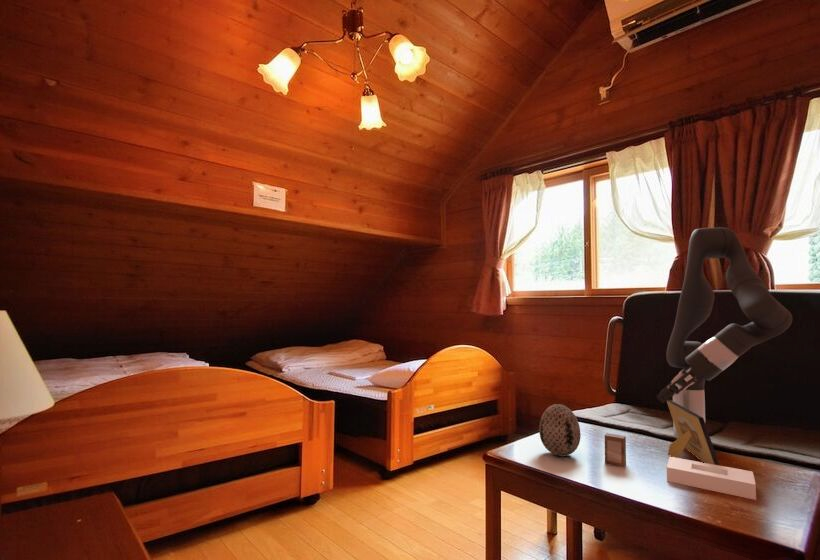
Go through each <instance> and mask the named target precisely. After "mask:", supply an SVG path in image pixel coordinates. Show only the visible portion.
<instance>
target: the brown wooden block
mask: <svg viewBox="0 0 820 560" xmlns="http://www.w3.org/2000/svg"><path fill="white" fill-rule="evenodd" d="M626 438H627V437H626V435H622V434H621V435H620V434H615V433H609V432H606V433H605V434H604V464H605V465H608V466H612V467H618V468H623V469H625V468H626V466H627V449H626V448H627V444H626V442H627V441H626V440H627V439H626Z"/></svg>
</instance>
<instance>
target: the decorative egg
mask: <svg viewBox="0 0 820 560" xmlns="http://www.w3.org/2000/svg"><path fill="white" fill-rule="evenodd" d="M540 417H541V418H540V421H539V428H538V429H539V431H538V432H539V438H540V441H541V443H542V446H544V447H545V449H546V450H547V451H548V452H549V453H551V454H553V455H554V456H559V457H566V456H569V455H571V454H573V453H574V452H575V451H576V450H577V449H578V447H579V446H580V443H581V442H580V441H581V438H582V437H581V435H582V433H581V427H580V423H579V421H578V418H577V416H576V414H575V413H574V411H572V410H571V408H569V407H567V406H566V405H564V404H562V403H561V404H560V403H555V404H552V405H549V406H548V407H547V408H546V409H545V411H544V412H543V414H542V415H541V416H540Z"/></svg>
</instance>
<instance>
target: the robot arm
mask: <svg viewBox="0 0 820 560" xmlns="http://www.w3.org/2000/svg"><path fill="white" fill-rule="evenodd" d="M722 258H724V259H726V260H727V261H728V262H729V265H728V266H727V270H726V272H725V282H726V283H725V284H726V285H727V287H728V288H729V289H730V291H731V293H732V294H733V296H734V297H735V299H737V302H738V305H739V307H740V308H741V309H740V310H741V311H742V313H744V315H745V317H747V318H748V319H749V320H750V321H751V322H749V323H747V324H745V325H740V324H739V323H735V322H734V323H730V324H728V325H726V326H725V327H724V328H723V329H721V330H720V331H719V332H717V333H716V334H715V335H714V336H712V337H711V338H709V339H707V340H706V341H705V342H703V343H701V341H692V340H691V341H689V340H687V339H688V338H689V336H690V335H692V334H691V333H693V332H694V331H696V329H698V328H699V327H700V326H701V325H702V324H703V323H705V322H706V321H707V319H708V318H709V317H710V316H711V314H712V311H713V307H714V306H713V305H714V304H715V303H714V302H715V291H714V290H713V288H712V286H711V284H710V282H709V281H708V279H707V277H706V276H705V273H704V268H703V267H704V261H705V260H706V259H722ZM684 273H685V274H684V278H683V283H682V288H681V292H680V296H679V299H678V305H677V311H676V316H675V319H674V320H675V321H674V325H673V327H672V328H673V329H672V331H671V335H670V337H669V341H668V344H667V346H666V347H667V348H666V362H667V363H668V365H669V366H670V367H672V368H673V367H674V368H677V369H679V368H680V369H681V370H680V371H679V372H678V374H677V375H675V376H673V379H672V380H671V381H670V383H669V384H668V385H666V386H665V387H664V388H662V389H661V390H660V392H659V394H657V395H656V399H657V400H658V401H659V402H661V403H662V404H664V403H667V400H670V399H672V401H673V402H675V403H677V404H679V405H681V406H682V407H684V408H686V409H688V410H690V411H692V412H693V413H695V414H697V415H699V416H701V417H703V419H704V421H705V422H706V400H705V399H706V398H705V383H706V381H711V380H712V379H714V378H716V377H717V376H718V375H719V374H720V373H722V372H723V371H725V370H726V369H727V368H728V367H730V366H731V365H732V364H733V363H735V362H736V361H737V359H738V358H739V357H741V356H742V355H744V354H745V353H746V352H748V351H749V350H750V349H751V348H752V347H754V346H757V345H759V344H760V345H761V344H762V343H764V342H767V341H768V340H770V339H772V338H776V337H777V336H779V335H781V334H783V333H784V332H786V330H788V329H789V328H790V326H791V325H792V323H793V315H792V313H791V312H790V311H789V309H787V308H786V307H785V306H784V305H782V303H781V302H779V301H778V300H777V299H776V298H775V297H774V296H773V295H772V294H771V293H770V291H769V288H768V286H767V285H766V283H765V282H764V280H763V279H762V278H761V277H760V275H759V274H758V273H757V272H756V271H755V269H754V268H753V266H752V265H751V263H750V261H749V258H748V256H747V254H746V251H745V250H744V247H743V246H742V244H741V242H740V240H739V237H738V236H737V234H736V233H735V231H733V229H731V228H730V227H721V226H720V227H701V228H696V229H694V230H693V231H692V233H691V235H690V238H689V242H688V250H687V258H686V267H685V272H684ZM672 425H673V428H672V429H673V437H674V439H676V440H677V439H678V438H679V437H678V434H677V431H676V428H675V425H674V422H672Z"/></svg>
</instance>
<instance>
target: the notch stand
mask: <svg viewBox="0 0 820 560" xmlns="http://www.w3.org/2000/svg"><path fill="white" fill-rule="evenodd" d="M719 465H720V464H719ZM719 465H714V464H708V463H703V462H701V461H698V460H697V461H696V460H690V459H684V458H680V457H678V458H675V457H671V456H669V459H668V461H667V464H666V482H670V483H674V484H679V485H684V486H687V487H688V486H689V487H692V488H697V489H702V490H707V491H711V492H712V491H713V492H717V493H722V494H726V495H731V496H736V497H741V498H746V499H750V500H754V501H756V500H757V485H756V480H755V475H754V472H753V471H751V470H745V469H740V468H736V467H735V468H734V467H730V466H723V465H720V466H719Z"/></svg>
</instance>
